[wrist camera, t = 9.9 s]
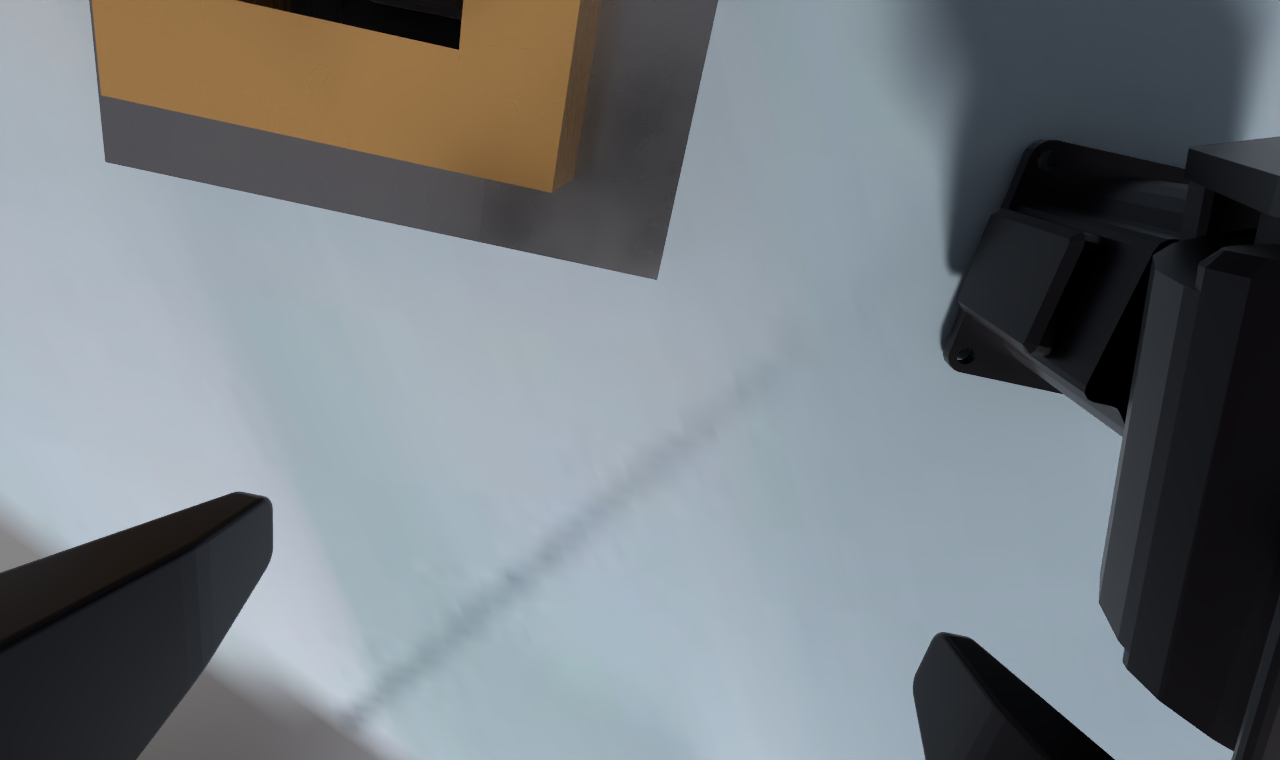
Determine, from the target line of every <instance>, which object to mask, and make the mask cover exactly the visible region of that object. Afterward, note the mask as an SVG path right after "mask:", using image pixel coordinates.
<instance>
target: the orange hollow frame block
mask: <svg viewBox="0 0 1280 760" xmlns="http://www.w3.org/2000/svg"><path fill="white" fill-rule="evenodd" d="M89 2H90V12H91V22H92V32H93V42H94V52H95V62H96V72H97V82H98V92H99V102H100V112H101V122H102V132H103V142H104V152H105V162H108V163H113V164H118V165H122V166H127V167H132V168H137V169H141V170H146V171H151V172H155V173H160V174H165V175H169V176H174V177H179V178H183V179H188V180H193V181H197V182H202V183H207V184H211V185H216V186H221V187H225V188H230V189H235V190H239V191H244V192H249V193H253V194H258V195H263V196H267V197H272V198H277V199H281V200H286V201H291V202H295V203H300V204H305V205H309V206H314V207H319V208H323V209H328V210H333V211H337V212H342V213H347V214H351V215H356V216H361V217H365V218H370V219H375V220H380V221H384V222H389V223H394V224H398V225H403V226H408V227H412V228H417V229H422V230H426V231H431V232H436V233H440V234H445V235H450V236H454V237H459V238H464V239H468V240H473V241H478V242H482V243H487V244H492V245H496V246H501V247H506V248H510V249H515V250H520V251H524V252H529V253H534V254H538V255H543V256H548V257H552V258H557V259H562V260H566V261H571V262H576V263H580V264H585V265H590V266H594V267H599V268H604V269H608V270H613V271H618V272H623V273H627V274H632V275H637V276H641V277H646V278H651V279H655V280H657V277H658V273H659V268H660V264H661V259H662V254H663V250H664V245H665V241H666V236H667V232H668V227H669V222H670V218H671V213H672V209H673V204H674V200H675V195H676V190H677V186H678V181H679V177H680V172H681V167H682V163H683V158H684V154H685V149H686V145H687V140H688V135H689V131H690V126H691V122H692V117H693V113H694V108H695V103H696V99H697V94H698V90H699V85H700V81H701V76H702V71H703V67H704V62H705V58H706V53H707V49H708V44H709V39H710V35H711V30H712V26H713V21H714V17H715V12H716V7H717V3H718V0H463V10H462V21H461V33H460V44H459V50H457V49H453V48H448V47H444V46H439V45H435V44H430V43H426V42H421V41H417V40H412V39H408V38H403V37H399V36H394V35H390V34H385V33H381V32H376V31H372V30H367V29H363V28H358V27H354V26H349V25H345V24H342V0H89Z"/></svg>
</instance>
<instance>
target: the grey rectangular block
mask: <svg viewBox="0 0 1280 760" xmlns="http://www.w3.org/2000/svg"><path fill="white" fill-rule="evenodd" d="M370 1H373V2H376V3H380V4H385V5H390V6H395V7H400V8H405V9H410V10H415V11H420V12H425V13H430V14H435V15H440V16H445V17H450V18H455V19H460V20H462V10H463V0H370Z"/></svg>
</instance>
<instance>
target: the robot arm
mask: <svg viewBox="0 0 1280 760" xmlns="http://www.w3.org/2000/svg"><path fill="white" fill-rule="evenodd" d="M1045 151H1049V153H1050V155H1051V158H1050V162H1049V164H1048V165H1047V166H1046V167H1045V168H1043V169H1040V168H1039V165H1038V159H1039V157H1040V156H1041V154H1042V153H1044V152H1045ZM958 302H959V304H960V306H961V308H960V311H959V313H958V316H957V318H956V320H955V323H954V325H953V328H952V330H951V333H950V335H949V338H948V340H947V343H946V345H945V348H944V352H943V356H944V360H945V361H946V362H947V363H948V365H949V366H951V367H952V368H953V369H954V370H956V371H958V372H962V373H966V374H971V375H976V376H981V377H985V378H990V379H995V380H999V381H1004V382H1009V383H1013V384H1018V385H1023V386H1028V387H1032V388H1037V389H1042V390H1046V391H1051V392H1056V393H1060V394H1064V395H1066V396H1067V397H1068V398H1070V399H1071V400H1073V401H1074V402H1075V403H1077V404H1078V405H1079V406H1081V407H1082V408H1083V409H1085V410H1086V411H1088V412H1089V413H1090V414H1092V415H1093V416H1094V417H1096V418H1097V419H1099V420H1100V421H1101V422H1103V423H1104V424H1105V425H1107V426H1108V427H1109V428H1111V429H1112V430H1114V431H1115V432H1116V433H1118V434H1119V435H1120V436H1122V437H1123V439H1122V445H1121V451H1120V457H1119V463H1118V469H1117V475H1116V481H1115V487H1114V493H1113V499H1112V505H1111V511H1110V517H1109V523H1108V529H1107V535H1106V541H1105V547H1104V553H1103V559H1102V565H1101V571H1100V589H1099V604H1100V606H1101V608H1102V610H1103V612H1104V614H1105V616H1106V618H1107V620H1108V621H1109V623H1110V625H1111V627H1112V629H1113V631H1114V633H1115V635H1116V637H1117V639H1118V641H1119V642H1120V643H1121V644H1122V646H1123V647H1124V648H1125V649H1124V654H1123V663H1124V665H1125V667H1126V669H1127V670H1128V671H1129V672H1130V673H1131V674H1132V675H1134V676H1135V677H1136V678H1137V679H1138V680H1139V681H1140V682H1141V683H1142V684H1143V685H1144V686H1145V687H1146V688H1147V689H1148V690H1149V691H1150V692H1151V693H1152V694H1153V695H1154V696H1155V697H1156V698H1157V699H1158V700H1159V701H1160V702H1162V703H1163V704H1164V705H1166V706H1167V707H1169V708H1170V709H1171V710H1173V711H1174V712H1176V713H1177V714H1178V715H1180V716H1181V717H1183V718H1184V719H1185V720H1187V721H1188V722H1189V723H1191V724H1192V725H1194V726H1195V727H1196V728H1198V729H1199V730H1201V731H1202V732H1203V733H1205V734H1206V735H1207V736H1209V737H1210V738H1212V739H1213V740H1215V741H1216V742H1218V743H1220V744H1222V745H1223V746H1225V747H1227V748H1229V749H1231V750H1232V751H1234V753H1233V757H1232V760H1280V137H1272V138H1263V139H1254V140H1246V141H1237V142H1228V143H1220V144H1211V145H1202V146H1194V147H1190V148H1189V151H1188V156H1187V162H1186V168H1185V169H1182V168H1178V167H1173V166H1169V165H1164V164H1160V163H1155V162H1151V161H1147V160H1142V159H1138V158H1133V157H1129V156H1124V155H1120V154H1115V153H1111V152H1106V151H1102V150H1097V149H1093V148H1089V147H1084V146H1080V145H1075V144H1071V143H1066V142H1062V141H1057V140H1039V141H1036V142H1034V143H1032V144H1031V145H1030V146H1029V147H1028V148H1027V149H1026V150H1025V152H1024V153H1023V155H1022V157H1021V160H1020V162H1019V165H1018V167H1017V170H1016V172H1015V175H1014V177H1013V180H1012V182H1011V184H1010V187H1009V189H1008V192H1007V194H1006V197H1005V199H1004V202H1003V204H1002V207H1001V209H1000V210H998V211H997V212H995V213H994V214H992V215H991V216H990V219H989V221H988V224H987V226H986V229H985V231H984V234H983V236H982V239H981V241H980V244H979V246H978V249H977V251H976V254H975V256H974V259H973V261H972V264H971V266H970V269H969V271H968V274H967V276H966V278H965V281H964V283H963V286H962V288H961V291H960V293H959V296H958ZM964 348H969V349H970V351H969V354H968V356H967V357H966V358H964V359H962V360H957V354H958V353H959V352H960V350H962V349H964ZM272 552H273V508H272V503H271V501H270V500H269V499H268V498H267V497H265V496H260V495H255V494H250V493H245V492H234V493H230V494H228V495H225V496H222V497H219V498H216V499H213V500H210V501H207V502H204V503H201V504H199V505H196V506H193V507H190V508H187V509H184V510H181V511H178V512H175V513H172V514H170V515H167V516H164V517H161V518H158V519H155V520H152V521H149V522H146V523H143V524H140V525H138V526H135V527H132V528H129V529H126V530H123V531H120V532H117V533H114V534H111V535H109V536H106V537H103V538H100V539H97V540H94V541H91V542H88V543H85V544H82V545H80V546H77V547H74V548H71V549H68V550H65V551H62V552H59V553H56V554H53V555H50V556H48V557H45V558H42V559H39V560H36V561H33V562H30V563H27V564H24V565H22V566H19V567H16V568H13V569H10V570H7V571H4V572H1V573H0V760H136V759H137V758H138V757H139V755H140V754H141V753H142V751H143V750H144V749H145V747H146V746H147V745H148V744H149V742H150V741H151V739H152V738H153V737H154V736H155V734H156V733H157V731H158V730H159V729H160V728H161V726H162V725H163V724H164V723H165V721H166V720H167V718H168V717H169V716H170V715H171V713H172V712H173V711H174V709H175V708H176V707H177V705H178V704H179V703H180V701H181V700H182V699H183V698H184V696H185V694H187V692H188V691H189V690H190V688H191V687H192V685H193V684H194V683H195V681H196V680H197V679H198V677H199V676H200V675H201V673H202V672H203V670H204V669H205V667H206V666H207V664H208V663H209V661H210V660H211V658H212V656H213V655H214V653H215V652H216V650H217V649H218V647H219V645H220V644H221V642H222V640H223V639H224V637H225V635H226V634H227V632H228V631H229V629H230V627H231V626H232V624H233V622H234V621H235V619H236V617H237V616H238V614H239V613H240V611H241V609H242V608H243V606H244V604H245V603H246V601H247V599H248V598H249V596H250V595H251V593H252V591H253V590H254V588H255V586H256V585H257V583H258V581H259V580H260V578H261V576H262V575H263V573H264V572H265V570H266V568H267V566H268V564H269V562H270V559H271V556H272ZM913 695H914V701H915V707H916V712H917V717H918V723H919V728H920V733H921V739H922V744H923V749H924V755H925V760H1115V759H1113V758H1112V757H1111V756H1110V755H1109V754H1108V753H1106V752H1105V751H1104V750H1103V749H1102V748H1100V747H1099V746H1098V745H1097V744H1096V743H1095V742H1093V741H1092V740H1091V739H1090V738H1089V737H1087V736H1086V735H1085V734H1084V733H1083V732H1082V731H1080V730H1079V729H1078V728H1077V727H1076V726H1074V725H1073V724H1072V723H1071V722H1070V721H1069V720H1067V719H1066V718H1065V717H1064V716H1063V715H1061V714H1060V713H1059V712H1058V711H1057V710H1056V709H1054V708H1053V707H1052V706H1051V705H1050V704H1048V703H1047V702H1046V701H1045V700H1044V699H1043V698H1041V697H1040V696H1039V695H1038V694H1037V693H1035V692H1034V691H1033V690H1032V689H1031V688H1030V687H1028V686H1027V685H1026V684H1025V683H1024V682H1022V681H1021V680H1020V679H1019V678H1018V677H1017V676H1015V675H1014V674H1013V673H1012V672H1011V671H1009V670H1008V669H1007V668H1006V667H1005V666H1004V665H1002V664H1001V663H1000V662H999V661H998V660H996V659H995V658H994V657H993V656H992V655H991V654H989V653H988V652H987V651H986V650H985V649H983V648H982V647H981V646H980V645H979V644H978V643H976V642H975V641H974V640H973V639H971V638H969V637H966V636H961V635H956V634H951V633H946V632H941V633H938V634H936V635H935V636H934V638H933V639H932V641H931V643H930V645H929V647H928V649H927V651H926V653H925V655H924V657H923V660H922V662H921V664H920V666H919V668H918V670H917V672H916V674H915V677H914V681H913Z"/></svg>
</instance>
